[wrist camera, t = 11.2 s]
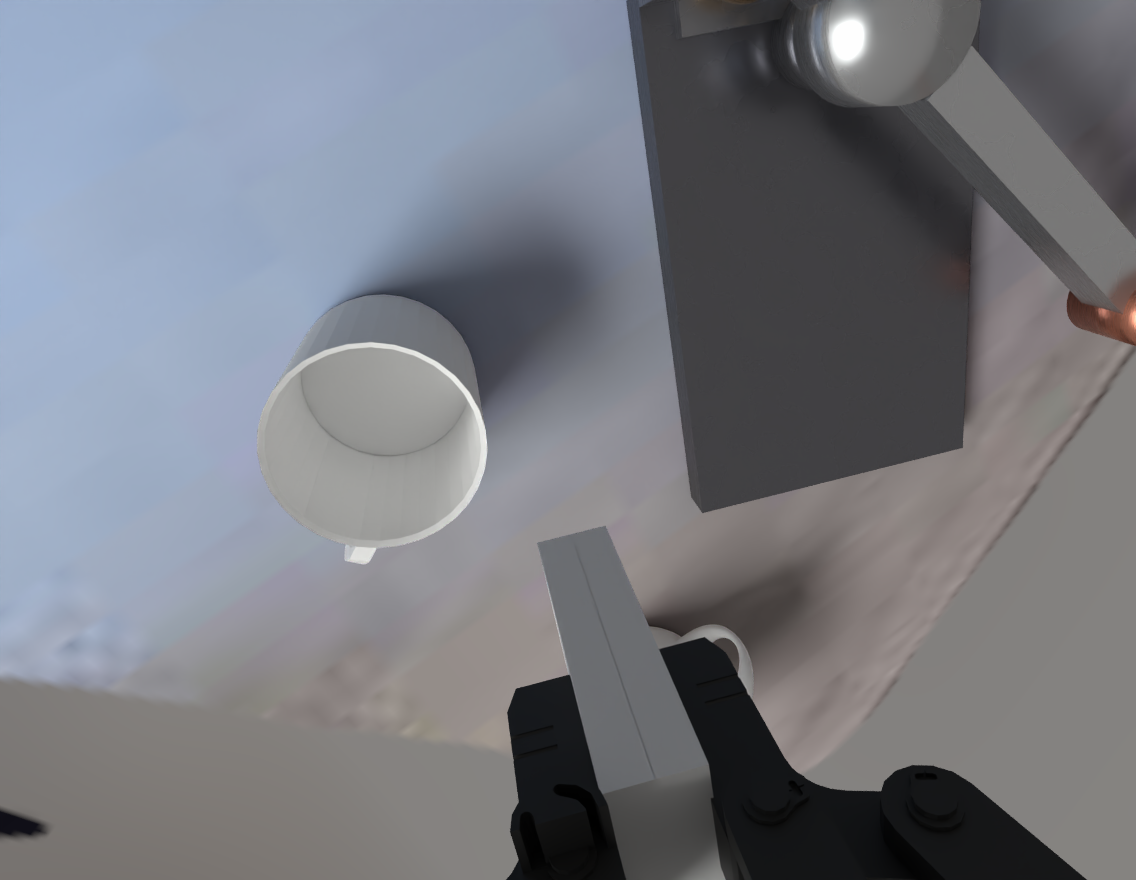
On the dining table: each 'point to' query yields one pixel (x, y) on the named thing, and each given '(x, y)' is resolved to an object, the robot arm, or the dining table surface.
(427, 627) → the dining table surface
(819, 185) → the press base
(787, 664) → the dining table surface
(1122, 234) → the lever
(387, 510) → the mug
